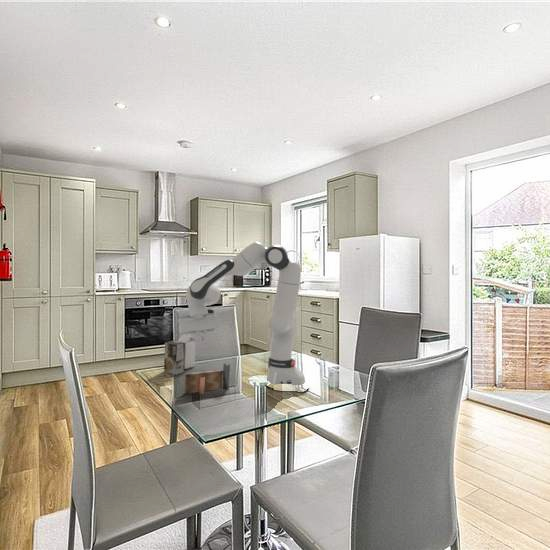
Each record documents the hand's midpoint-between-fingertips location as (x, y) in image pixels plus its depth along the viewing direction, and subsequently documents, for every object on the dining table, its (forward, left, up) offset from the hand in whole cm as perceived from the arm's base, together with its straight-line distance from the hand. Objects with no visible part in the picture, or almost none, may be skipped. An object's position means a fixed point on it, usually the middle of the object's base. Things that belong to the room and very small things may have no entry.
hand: (202, 340), depth 197 cm
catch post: (-5, +10, -23) cm, 25 cm away
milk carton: (+19, -26, -23) cm, 39 cm away
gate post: (-13, 0, -23) cm, 26 cm away
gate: (-5, +8, -22) cm, 24 cm away
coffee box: (+21, -15, -23) cm, 34 cm away
